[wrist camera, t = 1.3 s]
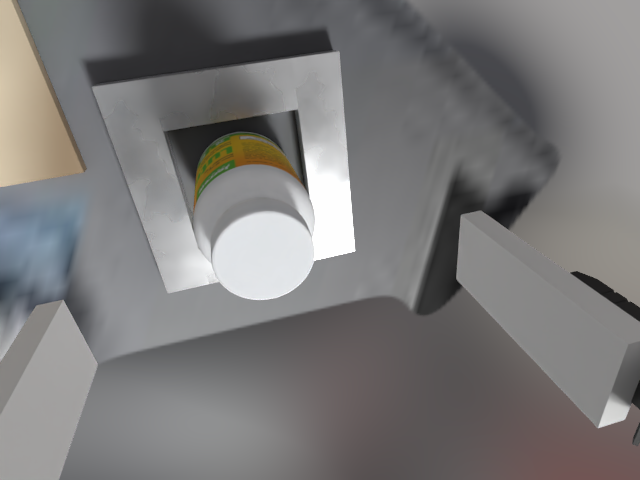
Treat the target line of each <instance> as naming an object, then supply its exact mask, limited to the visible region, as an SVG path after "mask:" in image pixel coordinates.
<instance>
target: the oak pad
mask: <svg viewBox="0 0 640 480" xmlns="http://www.w3.org/2000/svg"><path fill="white" fill-rule="evenodd" d="M86 169H87V168H86V166H85V164H84V161H83V159H82V156H81V154H80V152H79V149H78V147H77V144H76V142H75V139H74V137H73V135H72V132H71V130H70V127H69V125H68V123H67V120H66V118H65V115H64V113H63V111H62V108H61V106H60V103H59V101H58V98H57V96H56V94H55V91H54V89H53V86H52V84H51V82H50V79H49V77H48V74H47V72H46V70H45V67H44V65H43V62H42V60H41V58H40V55H39V53H38V50H37V48H36V45H35V43H34V41H33V38H32V36H31V33H30V31H29V29H28V26H27V24H26V21H25V19H24V17H23V14H22V12H21V9H20V7H19V4H18V2H17V0H0V187H4V186H9V185H15V184H21V183H26V182H32V181H38V180H43V179H49V178H55V177H61V176H66V175H72V174H78V173H83V172H85V170H86Z"/></svg>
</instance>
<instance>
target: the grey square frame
mask: <svg viewBox="0 0 640 480" xmlns="http://www.w3.org/2000/svg"><path fill="white" fill-rule="evenodd" d="M92 89H93V92H94V95H95V97H96V100H97V103H98V105H99V108H100V111H101V114H102V116H103V119H104V122H105V124H106V127H107V130H108V132H109V135H110V138H111V141H112V143H113V146H114V149H115V151H116V154H117V157H118V160H119V162H120V165H121V168H122V170H123V173H124V176H125V178H126V181H127V184H128V187H129V189H130V192H131V195H132V197H133V200H134V203H135V206H136V208H137V211H138V214H139V216H140V219H141V222H142V225H143V227H144V230H145V233H146V235H147V238H148V241H149V243H150V246H151V249H152V252H153V254H154V257H155V260H156V262H157V265H158V268H159V271H160V273H161V276H162V279H163V281H164V284H165V287H166V289H167V292H168V293H172V292H176V291H181V290H185V289H190V288H194V287H198V286H203V285H207V284H212V283H216V282H219V280H218V279H217V277H216V275H215V273H214V271H213V268H212V264H211V263H210V262H209V261H208V260H207V259H206V258H205V257H204V255H203V254H202V252H201V251H200V249H199V247H198V245H197V242H196V239H195V236H194V229H193V218H192V215H191V211H190V208H189V204H188V201H187V198H186V194H185V191H184V188H183V184H182V181H181V178H180V174H179V171H178V167H177V164H176V161H175V157H174V154H173V151H172V147H171V144H170V141H169V137H168V134H167V131H169V130H175V129H181V128H187V127H193V126H200V125H206V124H212V123H218V122H224V121H230V120H236V119H242V118H248V117H254V116H260V115H266V114H272V113H278V112H284V111H290V110H295V116H296V123H297V130H298V138H299V145H300V152H301V160H302V167H303V174H304V182H305V189H306V191H307V193H308V195H309V197H310V199H311V202H312V204H313V208H314V212H315V230H314V235H313V241H314V247H315V258H314V260H317V259H322V258H326V257H330V256H335V255H339V254H343V253H348V252H352V251H355V247H354V234H353V221H352V208H351V195H350V183H349V170H348V157H347V144H346V131H345V118H344V105H343V93H342V80H341V67H340V54H339V51H335V50H329V51H322V52H315V53H308V54H301V55H295V56H288V57H281V58H274V59H267V60H260V61H253V62H246V63H239V64H232V65H225V66H218V67H211V68H204V69H197V70H190V71H183V72H176V73H169V74H162V75H155V76H148V77H141V78H134V79H127V80H120V81H113V82H106V83H99V84H96V85H94V86H92Z"/></svg>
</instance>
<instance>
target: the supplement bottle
mask: <svg viewBox="0 0 640 480" xmlns="http://www.w3.org/2000/svg"><path fill="white" fill-rule="evenodd" d="M193 229H194V236H195V239H196V242H197V245H198V247H199V249H200V251H201V252H202V254H203V255H204V257H205V258H206V259H207V260H208V261H209V262H210V263H211V264H212V268H213V271H214V273H215V275H216V277H217V279H218V280H219V282H220V283H221V284H222V285H223V286H224V287H225V288H226V289H227V290H229V291H230V292H232V293H234V294H235V295H238V296H240V297H243V298H246V299H252V300H267V299H272V298H277V297H280V296H282V295H285V294H287V293H289V292H290V291H292V290H293V289H295V288H296V287H297V286H299V285H300V284H301V283H302V282H303V281H304V279H305V278H306V277H307V275H308V274H309V272H310V270H311V268H312V265H313V262H314V258H315V247H314V241H313V235H314V230H315V212H314V208H313V204H312V202H311V199H310V197H309V195H308V193H307V191H306V189H305V187H304V186H303V184H302V183H301V181H300V179H299V178H298V176H297V174H296V173H295V171H294V169H293V168H292V166H291V164H290V162H289V161H288V159H287V157H286V156H285V154H284V153H283V151H282V150H281V149H280V148H279V147H278V146H277V145H276V144H275V143H274V142H273V141H271V140H270V139H268V138H267V137H265V136H263V135H260V134H257V133H253V132H234V133H230V134H227V135H224V136H222V137H220V138H218V139H217V140H215V141H214V142H213V143H211V144H210V145H209V146H208V147H207V149H206V150H205V151H204V153H203V154H202V156H201V158H200V161H199V163H198V167H197V172H196V183H195V196H194V212H193Z"/></svg>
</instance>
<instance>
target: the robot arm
mask: <svg viewBox="0 0 640 480" xmlns="http://www.w3.org/2000/svg"><path fill="white" fill-rule="evenodd" d="M456 279H457V280H458V281H459V283H460V284H461V285H462V286H463V287H464V288H465V289H466V290H467V291H468V292H469V293H470V294H471V295H472V296H473V297H474V298H475V299H476V300H477V301H478V303H479V304H480V305H481V306H482V307H483V308H484V309H485V310H486V311H487V312H488V313H489V314H490V315H491V316H492V317H493V318H494V319H495V320H496V321H497V322H498V324H499V325H500V326H501V327H502V328H503V329H504V330H505V331H506V332H507V333H508V334H509V335H510V336H511V337H512V338H513V339H514V340H515V341H516V343H517V344H518V345H519V346H520V347H521V348H522V349H523V350H524V351H525V352H526V353H527V354H528V355H529V356H530V357H531V358H532V359H533V360H534V361H535V362H536V363H537V364H538V366H539V367H540V368H541V369H542V370H543V371H544V372H545V373H546V374H547V375H548V376H549V377H550V378H551V379H552V380H553V381H554V382H555V383H556V384H557V386H558V387H559V388H560V389H561V390H562V391H563V392H564V393H565V394H566V395H567V396H568V397H569V398H570V399H571V400H572V401H573V403H575V405H576V406H577V407H578V408H579V409H580V410H581V411H582V412H583V413H584V414H585V415H586V416H587V417H588V418H589V419H590V420H591V421H592V422H593V424H594V425H595V426H596V427H597V428H600V427H603V426H606V425H609V424H612V423H616V422H619V421H622V420H625V418H626V416H627V413H628V411H629V408H630V406H631V404H632V403H633V404H634V405H635V406H637V407H638V408H639V409H640V308H639V307H638V306H637V305H635V304H634V303H632V302H628V301H627V299H626V298H625V297H623V296H622V295H620V294H619V293H617V292H616V293H614V290H613V289H611V288H609V287H608V286H607V285H605V284H604V283H602V282H601V281H599V280H598V279H595V278H593V277H590V276H588V275H585V274H583V273H580V272H578V271H576V272H571V273H569V272H568V271H566V270H565V269H563V268H562V267H561V266H559V265H558V264H556V263H555V262H553V261H552V260H550V259H549V258H548V257H546V256H545V255H543V254H542V253H541V252H539V251H538V250H536V249H535V248H533V247H532V246H531V245H529V244H528V243H526V242H525V241H523V240H522V239H521V238H519V237H517V236H516V235H515V234H513V233H512V232H511V231H509V230H508V229H506V228H505V227H503V226H502V225H501V224H499V223H498V222H496V221H495V220H493V219H492V218H491V217H489V216H488V215H486V214H485V213H483V212H482V211H477V212H472V213H468V214H463V215H461V220H460V234H459V248H458V262H457V277H456ZM97 366H98V364H97V362H96V360H95V358H94V356H93V354H92V353H91V351H90V349H89V347H88V345H87V343H86V341H85V339H84V338H83V336H82V334H81V332H80V330H79V328H78V326H77V324H76V323H75V321H74V319H73V317H72V315H71V313H70V311H69V309H68V308H67V306H66V304H65V302H64V300H60V301H55V302H51V303H46V304H41V305H37V306H36V307H35V308H34V310H33V312H32V313H31V315H30V316H29V318H28V319H27V321H26V323H25V324H24V326H23V327H22V329H21V331H20V332H19V334H18V335H17V337H16V339H15V340H14V342H13V343H12V345H11V346H10V348H9V350H8V351H7V353H6V354H5V356H4V358H3V359H2V361H1V362H0V480H59V478H60V474H61V472H62V469H63V466H64V463H65V460H66V457H67V454H68V451H69V448H70V445H71V442H72V439H73V436H74V434H75V430H76V427H77V425H78V421H79V419H80V416H81V413H82V410H83V407H84V404H85V401H86V398H87V395H88V392H89V389H90V386H91V383H92V380H93V378H94V375H95V372H96V369H97ZM639 443H640V423H639V426H638V428H637V430H636V433H635V435H634V437H633V443H632V444H633V445H636V446H638V445H639Z"/></svg>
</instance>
